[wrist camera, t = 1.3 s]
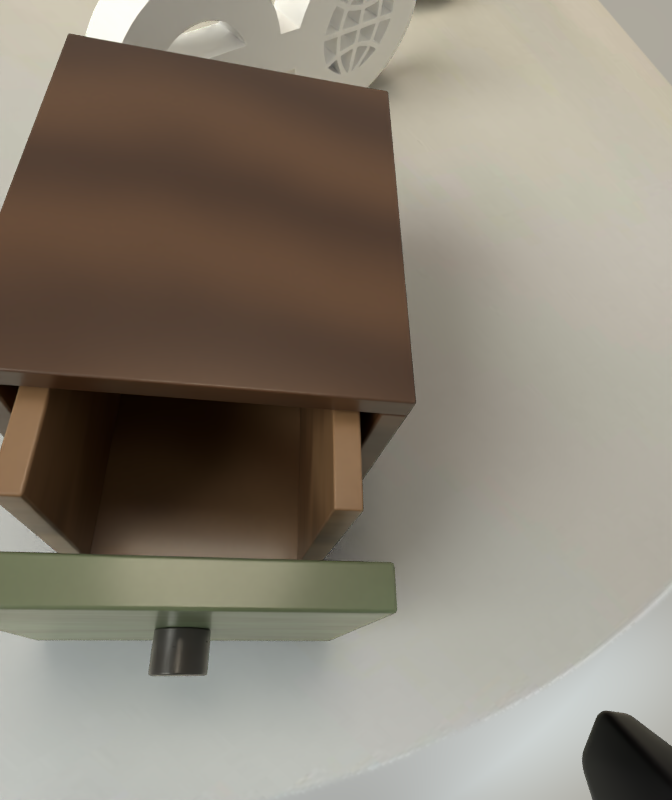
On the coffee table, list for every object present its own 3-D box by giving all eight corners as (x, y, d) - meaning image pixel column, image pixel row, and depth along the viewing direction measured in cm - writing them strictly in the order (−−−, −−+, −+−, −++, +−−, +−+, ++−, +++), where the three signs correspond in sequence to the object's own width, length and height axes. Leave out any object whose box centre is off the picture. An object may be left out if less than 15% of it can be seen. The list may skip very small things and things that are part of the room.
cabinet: (340, 513, 24) (416, 403, 15) (57, 500, 22) (-60, 365, 13) (336, 272, 30) (388, 90, 21) (116, 246, 28) (68, 32, 19)
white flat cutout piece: (371, 65, 40) (414, -109, 31) (392, 81, 40) (442, -90, 31) (104, 173, 30) (59, -35, 22) (128, 198, 30) (91, -5, 21)
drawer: (331, 676, 20) (401, 669, 12) (25, 679, 18) (-114, 673, 11) (329, 359, 26) (374, 226, 19) (103, 338, 25) (51, 181, 17)
